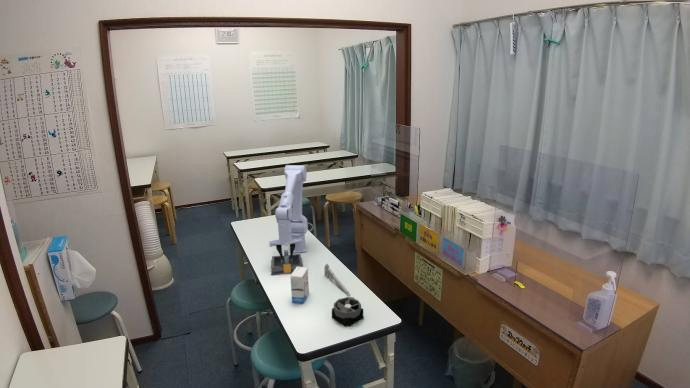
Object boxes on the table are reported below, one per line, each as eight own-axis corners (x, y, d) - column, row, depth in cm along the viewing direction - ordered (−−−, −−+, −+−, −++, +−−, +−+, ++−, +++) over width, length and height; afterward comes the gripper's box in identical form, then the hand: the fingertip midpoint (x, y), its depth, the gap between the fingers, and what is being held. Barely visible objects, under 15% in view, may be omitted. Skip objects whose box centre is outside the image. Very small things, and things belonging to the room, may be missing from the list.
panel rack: (271, 261, 192) (270, 252, 190) (301, 258, 194) (301, 250, 193) (271, 275, 179) (270, 266, 177) (303, 272, 181) (303, 263, 180)
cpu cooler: (346, 315, 139) (327, 304, 146) (346, 329, 140) (328, 317, 148) (367, 304, 145) (348, 293, 153) (367, 317, 147) (348, 306, 154)
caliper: (324, 275, 178) (323, 263, 176) (326, 275, 179) (326, 262, 177) (348, 297, 161) (348, 283, 159) (350, 296, 161) (350, 282, 160)
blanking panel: (284, 261, 190) (283, 250, 188) (288, 261, 190) (288, 249, 189) (285, 269, 183) (284, 257, 181) (289, 268, 183) (288, 257, 181)
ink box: (303, 303, 156) (302, 277, 153) (291, 302, 157) (289, 276, 154) (309, 292, 164) (308, 266, 161) (298, 291, 165) (296, 265, 162)
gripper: (268, 236, 176) (270, 264, 180) (301, 234, 179) (302, 261, 183) (268, 230, 183) (270, 257, 187) (300, 228, 185) (301, 254, 189)
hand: (286, 258), depth 185 cm, fingers open, 3 cm apart
